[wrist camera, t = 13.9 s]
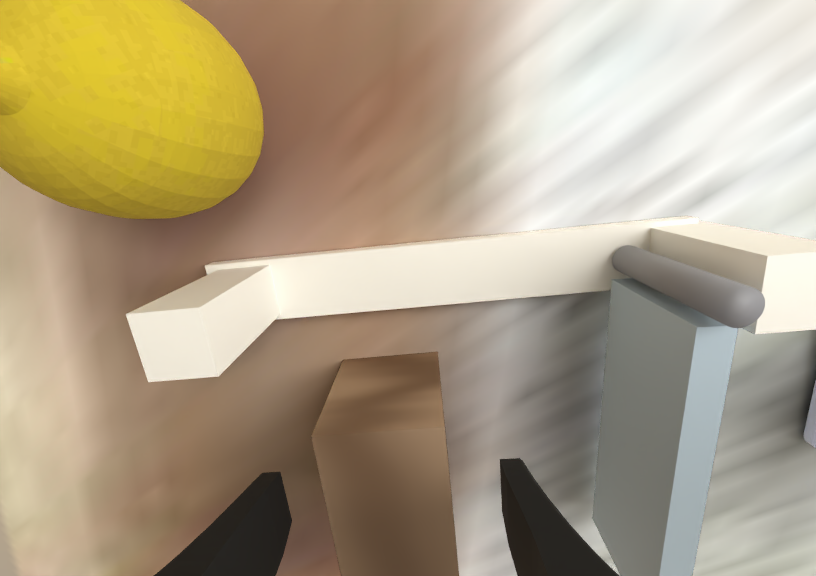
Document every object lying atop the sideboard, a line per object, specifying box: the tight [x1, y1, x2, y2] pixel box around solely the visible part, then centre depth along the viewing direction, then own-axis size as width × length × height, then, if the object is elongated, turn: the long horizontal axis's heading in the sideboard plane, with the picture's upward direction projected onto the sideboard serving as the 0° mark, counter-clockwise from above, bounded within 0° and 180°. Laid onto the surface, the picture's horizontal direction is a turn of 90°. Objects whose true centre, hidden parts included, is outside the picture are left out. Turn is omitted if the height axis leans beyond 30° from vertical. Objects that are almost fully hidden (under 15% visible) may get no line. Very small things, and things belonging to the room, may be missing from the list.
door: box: [592, 245, 765, 576], centre depth 13 cm, size 12×2×5 cm, turn 4°
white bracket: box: [126, 216, 816, 382], centre depth 12 cm, size 18×2×5 cm, turn 96°
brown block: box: [311, 352, 459, 576], centre depth 15 cm, size 4×6×5 cm, turn 7°
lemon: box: [0, 0, 264, 219], centre depth 10 cm, size 6×6×8 cm
